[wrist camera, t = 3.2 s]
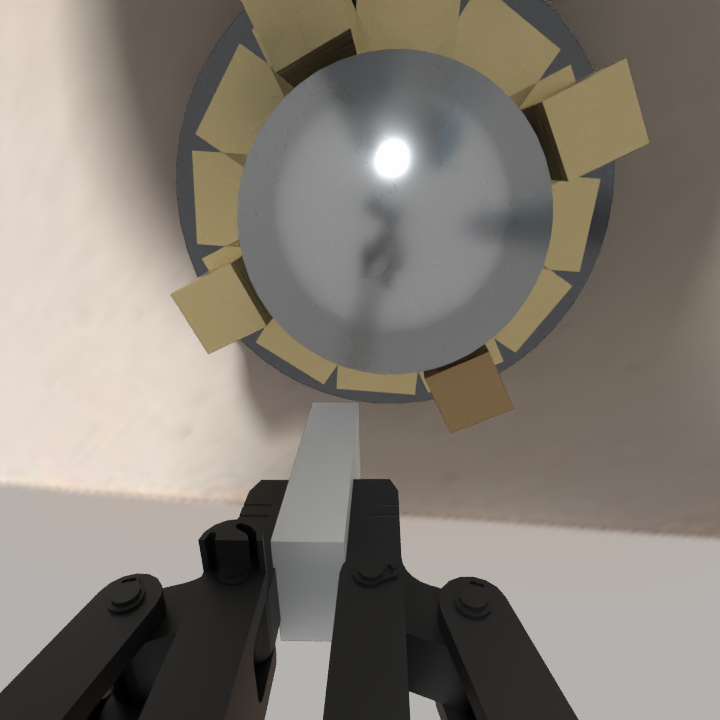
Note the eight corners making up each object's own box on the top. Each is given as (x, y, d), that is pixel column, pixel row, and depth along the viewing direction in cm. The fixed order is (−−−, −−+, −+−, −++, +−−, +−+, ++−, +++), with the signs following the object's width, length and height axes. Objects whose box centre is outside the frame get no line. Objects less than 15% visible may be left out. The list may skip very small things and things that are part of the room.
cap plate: (114, 106, 22) (-55, 71, 13) (509, -142, 18) (616, -402, 10) (310, 435, 27) (277, 556, 19) (643, 296, 24) (784, 369, 15)
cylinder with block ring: (130, 116, 20) (48, 102, 15) (502, -112, 17) (550, -225, 12) (314, 428, 25) (296, 494, 20) (629, 295, 21) (701, 334, 17)
